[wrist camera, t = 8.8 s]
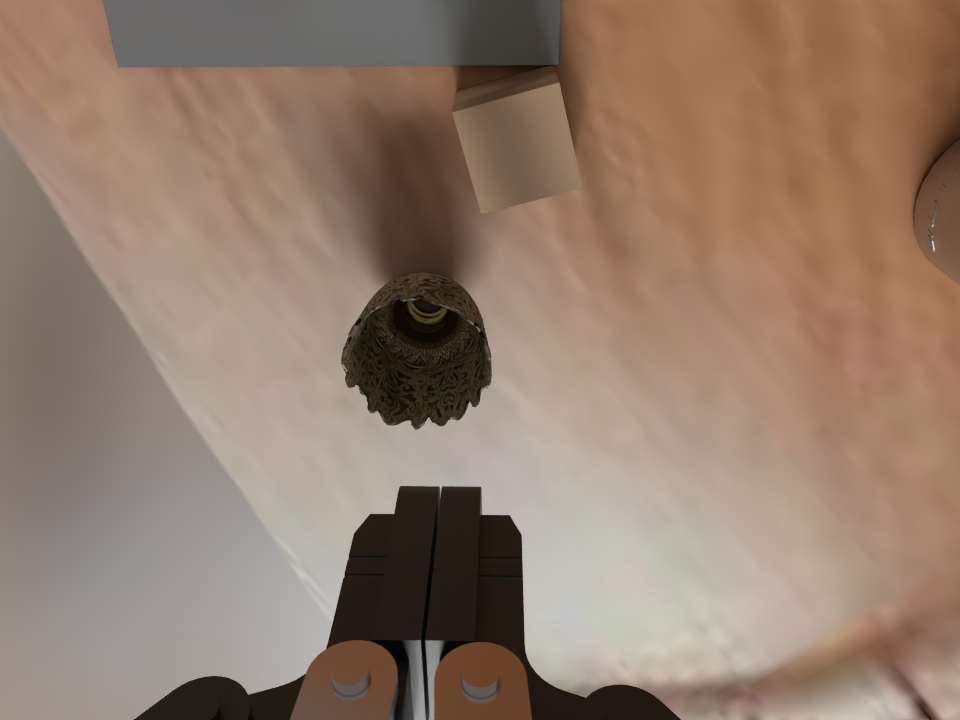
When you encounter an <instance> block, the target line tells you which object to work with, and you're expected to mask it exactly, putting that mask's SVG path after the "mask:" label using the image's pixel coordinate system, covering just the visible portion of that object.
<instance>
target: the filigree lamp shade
mask: <svg viewBox="0 0 960 720" xmlns="http://www.w3.org/2000/svg"><path fill="white" fill-rule="evenodd" d="M418 299H423V300H425V301H427V302H429V303H432V304H434V305H440V306H441V307H440V308H439V309H438V310H437V311H435V312H432V313H426V312H423V311H421V310H420V309H418V308H417V306H416V304H415V301H414V300H418ZM348 335H349V336H348V339H347V342H346V344H345V346H344V349H343V353H342V359H341V364H342V367H343V368H344V371H345V373H346V377H345V381H346V384H347V387H348V388H352V387H355V385H357V386H358V387H359V390H360V393H361V394H362V395H365V397H366V398H367V402H368V411H369V412H370V413H375V412H377V411H378V412H379V413H380V416H381V417H382V419H383V421H384V422H385V423H386V424H387V425H392V426H394V425H397V424H400V423H402V422H404V421H409V420H410V421H411V425H412V426H413V427H414V429H415V430H418V429H419V428H421V427H422V426H424V424H425V421H426V420H427V418H428V417H430V420H431V421H432V422H433V423H436V424H437V425H439V426H444V425H445V424H446V423H447V421H448V420H450V419H451V418H452V419H454V420H460V419H461V418H462V417H463V415H464V414H465V412H466V409H467V407H468V403H469V401H470V402H471V404H472V407H477V405H478V404H479V402H480V394H481V391H482V390H483V389H484V388H485V389H486V388H487V387H488V386H489V385H490V383H491V376H492V370H491V353H490V349H489V346H488V341H487V337H486V332H485V328H484V324H483V320H482V317H481V315H480V312H479V309H478V307H477V305H476V303H475V302H474V300H473V299H472V297H471V296H470V295H469V293H468V292H467V291H466V290H465V289H464V288H463V287H462V286H460V285H459V284H458V283H456V282H455V281H453V280H451V279H449V278H447V277H445V276H442V275H439V274H435V273H429V272H416V273H410V274H405V275H402V276H400V277H397V278H395V279H393V280H392V281H390V282H388V283H387V284H386V285H384V286H383V287H382V288H381V289H380V290H379V291H378V292H377V293H376V294H375V295H374V296H373V297H372V299H371V300H370V301H369V303H368V304H367V306H366V307H365V309H364V310H363V312H362V313H361V315H360V317H359V318H358V320H357V321H356V323H355V324H354V325H353V327H352V329H351V330H350V332H349V334H348Z"/></svg>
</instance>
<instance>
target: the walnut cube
mask: <svg viewBox="0 0 960 720" xmlns="http://www.w3.org/2000/svg"><path fill="white" fill-rule="evenodd" d="M452 114H453V118H454V121H455V125H456V128H457V132H458V135H459V139H460V142H461V146H462V149H463V153H464V156H465V160H466V163H467V167H468V170H469V174H470V177H471V181H472V184H473V188H474V191H475V194H476V198H477V201H478V205H479V208H480V212H481V214H484V213H488V212H492V211H496V210H499V209H503V208H507V207H511V206H515V205H519V204H522V203H526V202H530V201H534V200H538V199H542V198H546V197H549V196H553V195H557V194H561V193H565V192H569V191H573V190H576V189H580V188H582V183H581V179H580V174H579V170H578V165H577V161H576V156H575V152H574V147H573V142H572V138H571V133H570V129H569V124H568V120H567V115H566V111H565V106H564V101H563V97H562V92H561V88H560V83H559V80H558V77H557V74H556V71H555V69H554V66H553V65H546V66H542V67H539V68H535V69H532V70H528V71H525V72H521V73H518V74H514V75H511V76H507V77H504V78H500V79H497V80H493V81H490V82H486V83H482V84H479V85H475V86H472V87H468V88H465V89H461V90H458V91H457V92H456V96H455V101H454V105H453V110H452Z"/></svg>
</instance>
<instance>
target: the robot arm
mask: <svg viewBox="0 0 960 720" xmlns="http://www.w3.org/2000/svg"><path fill="white" fill-rule="evenodd" d="M914 228H915V235H916V238H917V241H918V244H919V247H920V248H921V250H922V251H923V253H924V254H925V256H926V257H927V258H928V260H929V261H931V262H932V263H933V264H934V265H935V266H937V267H938V268H939V269H940V270H941V271H942V272H944V273H945V274H946V275H947V276H948V277H950V278H951V279H952V280H953V281H954V282H955V283H957V284H958V285H959V286H960V139H959V140H958V141H956V142H955V143H954V144H953V145H952V146H950V147H949V148H948V149H947V150H946V151H945V152H944V154H943V155H942V156H941V157H940V158H939V159H938V161H937V162H936V163H935V164H934V165H933V167H932V168H931V170H930V172H929V173H928V175H927V177H926V178H925V180H924V182H923V184H922V186H921V189H920V192H919V194H918V197H917V200H916V206H915V212H914ZM429 717H430V720H681V719H680V718H678V717H677V716H676V715H675V714H674V713H673V712H672V711H671V710H670V709H669V708H668V707H666V706H665V705H664V704H663V703H662V702H661V701H660V700H659V699H657V698H656V697H655V696H654V695H652V694H650V693H648V692H647V691H645V690H642V689H640V688H637V687H633V686H628V685H611V686H605V687H603V688H600V689H598V690H596V691H594V692H592V693H591V694H590V695H589V696H588V697H587V698H585V697H582V696H578V695H575V694H572V693H569V692H566V691H563V690H561V689H558V688H556V687H554V686H552V685H550V684H549V683H547V682H546V681H544V680H543V679H542V678H541V677H540V676H539V675H538V674H537V673H536V672H535V671H534V669H533V668H532V667H531V665H530V663H529V661H528V659H527V656H526V653H525V641H524V606H523V570H522V535H521V533H520V532H519V530H518V529H517V527H516V525H515V524H514V522H513V520H512V519H511V517H510V515H482V495H481V487H444V486H443V487H442V491H441V498H440V487H428V486H400V488H399V492H398V497H397V502H396V508H395V513H394V514H370V515H369V516H368V517H367V519H366V520H365V521H364V522H363V523H362V525H361V526H360V527H359V528H358V529H357V531H356V532H355V533H354V537H353V541H352V545H351V549H350V553H349V560H348V562H347V566H346V570H345V578H343V583H342V587H341V591H340V595H339V599H338V603H337V608H336V612H335V616H334V620H333V624H332V628H331V633H330V637H329V641H328V645H327V648H326V650H324V651H323V652H322V653H320V654H319V655H318V656H317V657H316V658H315V659H314V661H313V662H312V663H311V665H310V666H309V668H308V670H307V672H306V674H305V675H303V676H302V677H300V678H298V679H297V680H295V681H293V682H290V683H288V684H285V685H283V686H279V687H276V688H272V689H268V690H265V691H261V692H257V693H253V694H250V695H248V694H247V692H246V691H245V689H244V688H243V687H242V685H240V684H239V683H238V682H236V681H234V680H232V679H230V678H226V677H219V676H210V677H203V678H198V679H195V680H192V681H189V682H187V683H185V684H183V685H181V686H180V687H178V688H177V689H175V690H173V691H172V692H171V693H169V694H168V695H167V696H165V697H164V698H163V699H161V700H160V701H159V702H157V703H156V704H155V705H153V706H152V707H150V708H149V709H148V710H146V711H145V712H144V713H142V714H141V715H140V716H138V717H137V718H136V719H134V720H429Z"/></svg>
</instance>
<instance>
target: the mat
mask: <svg viewBox="0 0 960 720" xmlns="http://www.w3.org/2000/svg"><path fill="white" fill-rule="evenodd" d="M103 1H104V6H105V10H106V15H107V19H108V24H109V28H110V33H111V37H112V42H113V47H114V51H115V56H116V60H117V65H118V67H259V66H445V65H559V39H560V13H561V0H103Z"/></svg>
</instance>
